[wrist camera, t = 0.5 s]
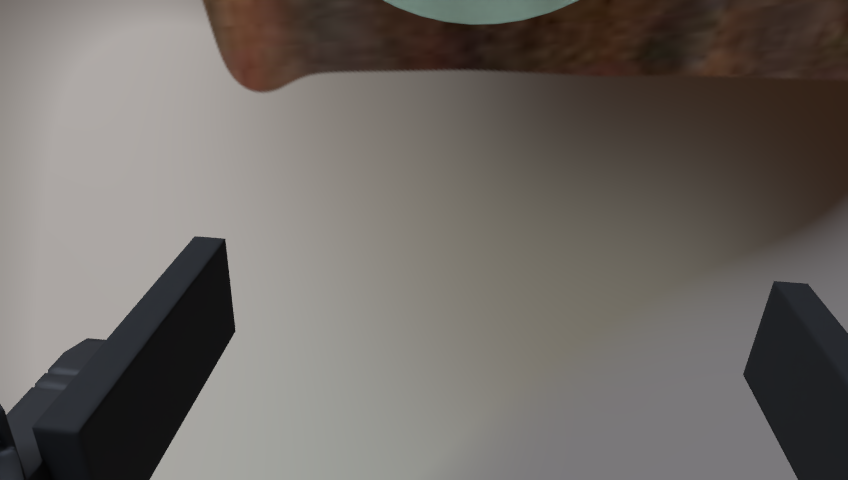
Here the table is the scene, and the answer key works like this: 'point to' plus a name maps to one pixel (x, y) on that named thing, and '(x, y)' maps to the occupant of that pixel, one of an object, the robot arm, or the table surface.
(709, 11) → the table surface
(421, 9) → the lid
